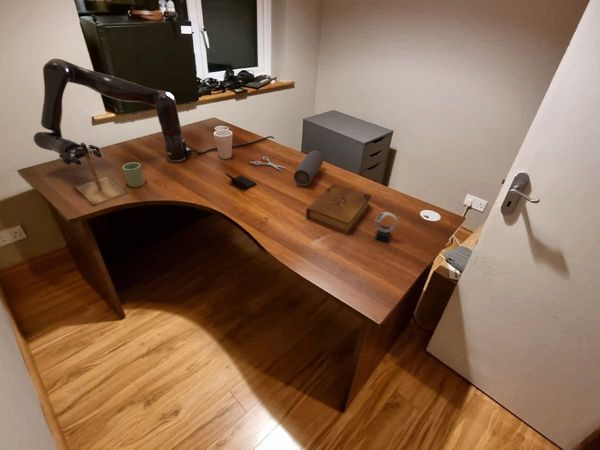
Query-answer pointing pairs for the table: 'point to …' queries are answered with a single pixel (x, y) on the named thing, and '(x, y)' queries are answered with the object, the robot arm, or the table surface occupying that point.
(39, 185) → the table surface
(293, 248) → the table surface
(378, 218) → the watch
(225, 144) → the foam cup
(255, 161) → the scissors
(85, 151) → the brush
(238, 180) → the dark angular piece
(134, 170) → the brush pot
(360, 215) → the diary
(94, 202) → the mat
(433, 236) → the table surface
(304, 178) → the bluetooth speaker
